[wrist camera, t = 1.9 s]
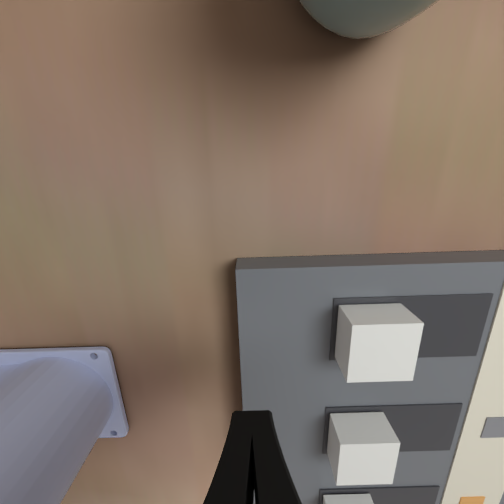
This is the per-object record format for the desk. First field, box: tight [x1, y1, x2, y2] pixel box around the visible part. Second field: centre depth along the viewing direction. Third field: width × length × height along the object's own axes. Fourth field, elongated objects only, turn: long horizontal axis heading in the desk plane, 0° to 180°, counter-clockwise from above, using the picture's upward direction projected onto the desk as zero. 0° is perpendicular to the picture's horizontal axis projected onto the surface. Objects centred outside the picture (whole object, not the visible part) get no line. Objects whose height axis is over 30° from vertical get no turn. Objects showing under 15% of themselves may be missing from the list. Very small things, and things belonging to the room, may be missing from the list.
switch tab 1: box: [335, 303, 424, 383], centre depth 14 cm, size 4×4×2 cm
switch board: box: [235, 250, 504, 504], centre depth 18 cm, size 20×24×2 cm
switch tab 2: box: [327, 412, 400, 486], centre depth 16 cm, size 4×4×2 cm
